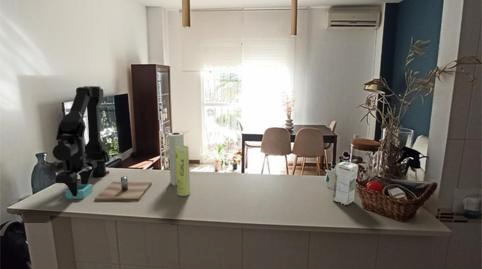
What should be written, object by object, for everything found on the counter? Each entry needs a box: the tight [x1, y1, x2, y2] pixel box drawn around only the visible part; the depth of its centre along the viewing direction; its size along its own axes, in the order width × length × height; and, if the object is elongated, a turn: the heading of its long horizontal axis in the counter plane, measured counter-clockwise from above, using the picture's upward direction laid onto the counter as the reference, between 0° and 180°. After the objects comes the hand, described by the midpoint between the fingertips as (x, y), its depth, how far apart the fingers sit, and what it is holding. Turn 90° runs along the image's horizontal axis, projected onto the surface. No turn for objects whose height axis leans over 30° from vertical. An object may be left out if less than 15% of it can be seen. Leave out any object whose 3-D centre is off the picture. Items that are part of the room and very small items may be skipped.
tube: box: [175, 144, 191, 197], centre depth 112 cm, size 6×5×20 cm
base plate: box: [94, 181, 153, 202], centre depth 115 cm, size 16×16×1 cm
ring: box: [65, 183, 94, 200], centre depth 112 cm, size 7×7×3 cm
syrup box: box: [332, 161, 359, 204], centre depth 107 cm, size 6×6×14 cm
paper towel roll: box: [168, 131, 185, 187], centre depth 123 cm, size 7×6×21 cm
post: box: [120, 176, 129, 191], centre depth 114 cm, size 2×2×5 cm
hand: (79, 192), depth 112 cm, fingers closed on ring, 7 cm apart
